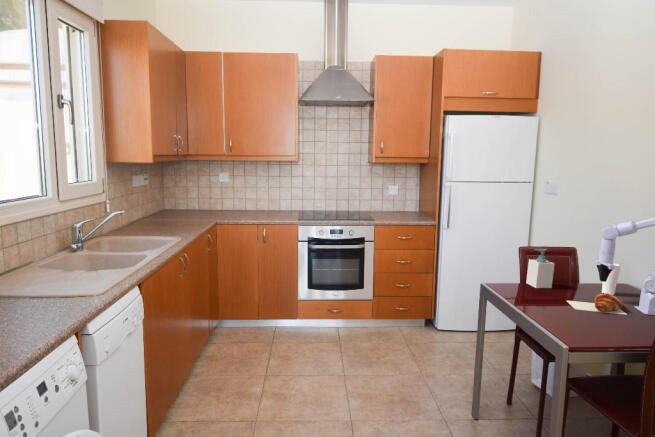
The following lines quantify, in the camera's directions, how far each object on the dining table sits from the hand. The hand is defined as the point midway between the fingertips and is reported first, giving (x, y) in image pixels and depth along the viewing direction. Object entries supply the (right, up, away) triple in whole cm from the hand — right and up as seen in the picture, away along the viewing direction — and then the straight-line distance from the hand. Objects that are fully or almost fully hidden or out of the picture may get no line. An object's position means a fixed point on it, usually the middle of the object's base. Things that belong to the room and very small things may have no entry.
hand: (602, 281), depth 199 cm
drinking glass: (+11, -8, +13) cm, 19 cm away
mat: (-9, -10, -9) cm, 16 cm away
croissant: (-4, -11, -10) cm, 15 cm away
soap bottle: (-19, -6, +22) cm, 30 cm away
